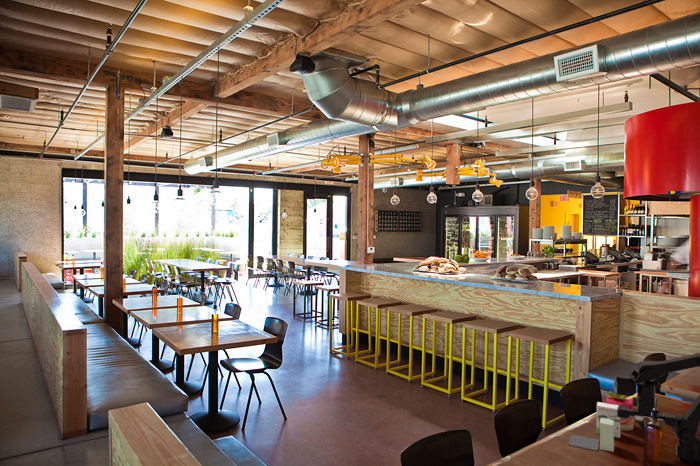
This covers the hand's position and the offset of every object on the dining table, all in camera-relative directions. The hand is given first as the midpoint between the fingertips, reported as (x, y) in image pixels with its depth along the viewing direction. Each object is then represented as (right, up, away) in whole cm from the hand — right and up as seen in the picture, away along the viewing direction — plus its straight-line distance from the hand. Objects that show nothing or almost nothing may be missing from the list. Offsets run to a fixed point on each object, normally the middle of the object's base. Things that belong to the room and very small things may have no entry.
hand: (646, 439), depth 170 cm
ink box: (-3, -7, +19) cm, 21 cm away
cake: (+6, -7, +28) cm, 29 cm away
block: (-11, -6, +7) cm, 14 cm away
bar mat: (-18, -6, +11) cm, 22 cm away
